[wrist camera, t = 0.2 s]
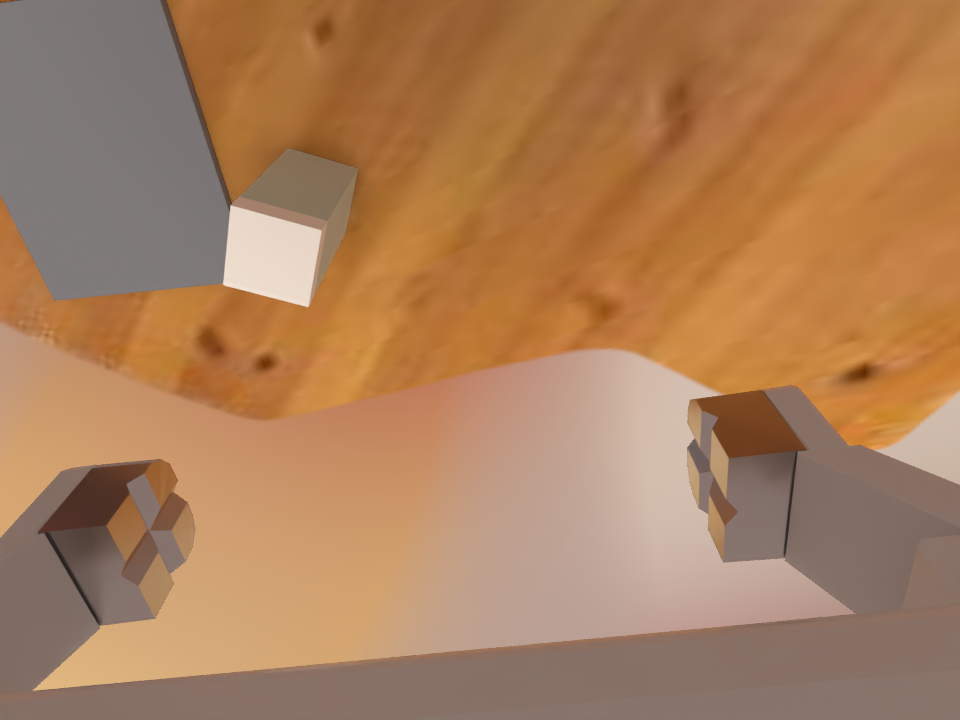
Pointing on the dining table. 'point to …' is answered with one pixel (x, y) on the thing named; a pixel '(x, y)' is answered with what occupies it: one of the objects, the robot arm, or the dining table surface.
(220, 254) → the rubber mat
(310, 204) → the sage block
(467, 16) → the dining table surface
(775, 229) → the dining table surface
